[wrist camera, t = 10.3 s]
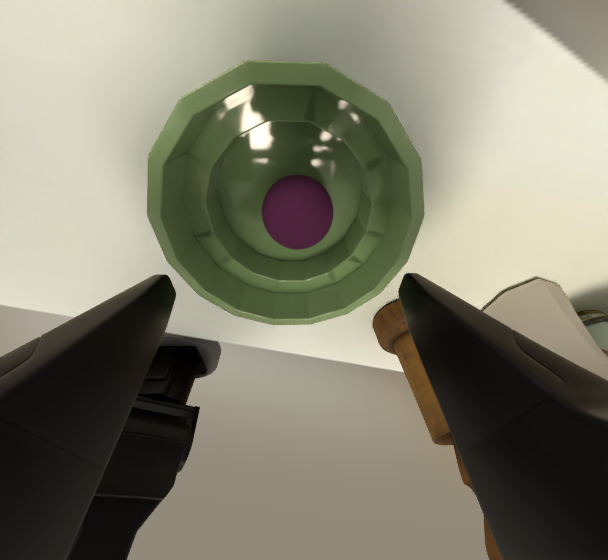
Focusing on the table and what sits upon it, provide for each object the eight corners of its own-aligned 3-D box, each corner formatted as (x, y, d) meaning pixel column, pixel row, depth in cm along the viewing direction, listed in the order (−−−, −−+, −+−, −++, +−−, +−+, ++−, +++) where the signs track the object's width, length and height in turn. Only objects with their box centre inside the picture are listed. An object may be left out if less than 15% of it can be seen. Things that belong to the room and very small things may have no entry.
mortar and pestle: (430, 332, 26) (585, 596, 12) (374, 342, 27) (460, 600, 13) (436, 291, 22) (679, 616, 8) (370, 304, 23) (490, 620, 9)
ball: (317, 227, 18) (340, 257, 14) (260, 234, 16) (270, 267, 13) (321, 165, 15) (350, 184, 11) (253, 168, 14) (264, 190, 10)
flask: (499, 334, 27) (582, 429, 19) (468, 310, 24) (551, 410, 17) (569, 298, 24) (705, 396, 16) (542, 265, 21) (692, 365, 13)
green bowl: (364, 272, 21) (385, 323, 16) (217, 273, 20) (194, 326, 15) (409, 79, 12) (479, 67, 8) (162, 72, 12) (77, 54, 7)
